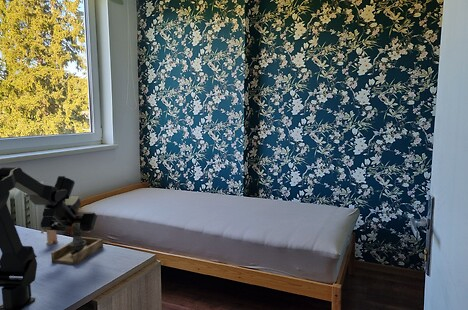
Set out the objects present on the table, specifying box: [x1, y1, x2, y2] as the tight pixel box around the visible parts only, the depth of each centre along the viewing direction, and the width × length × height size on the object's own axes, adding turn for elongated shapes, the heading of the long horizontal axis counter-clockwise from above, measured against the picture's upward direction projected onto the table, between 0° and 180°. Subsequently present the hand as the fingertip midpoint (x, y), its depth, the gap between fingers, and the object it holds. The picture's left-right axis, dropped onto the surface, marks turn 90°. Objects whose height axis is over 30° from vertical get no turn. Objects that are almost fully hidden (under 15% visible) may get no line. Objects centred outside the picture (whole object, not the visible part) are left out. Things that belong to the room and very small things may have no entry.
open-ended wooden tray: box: [50, 236, 104, 266], centre depth 132 cm, size 16×10×4 cm, turn 166°
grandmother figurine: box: [40, 228, 59, 246], centre depth 142 cm, size 8×4×13 cm, turn 157°
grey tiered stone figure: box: [68, 223, 86, 255], centre depth 131 cm, size 6×6×12 cm
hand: (78, 230), depth 132 cm, fingers open, 9 cm apart
